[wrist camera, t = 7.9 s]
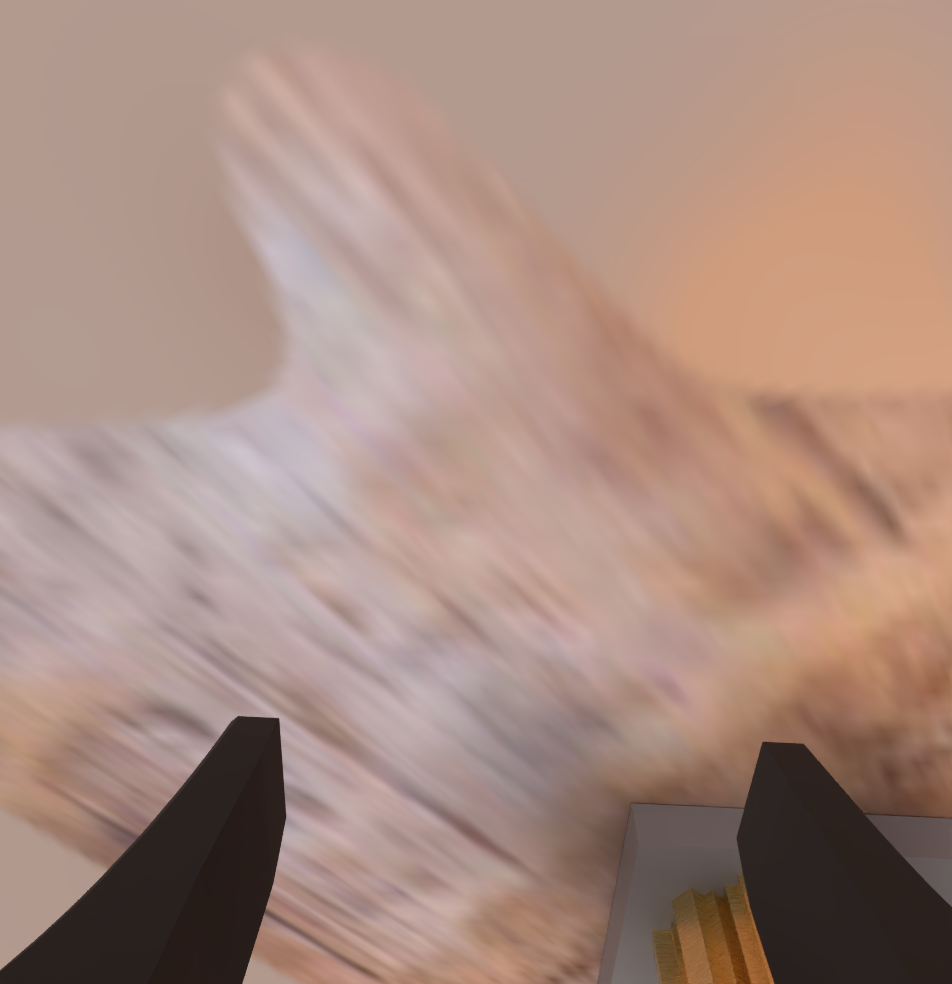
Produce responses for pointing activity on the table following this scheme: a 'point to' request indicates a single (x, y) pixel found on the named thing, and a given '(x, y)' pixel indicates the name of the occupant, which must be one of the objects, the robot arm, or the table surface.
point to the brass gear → (711, 941)
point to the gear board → (718, 872)
